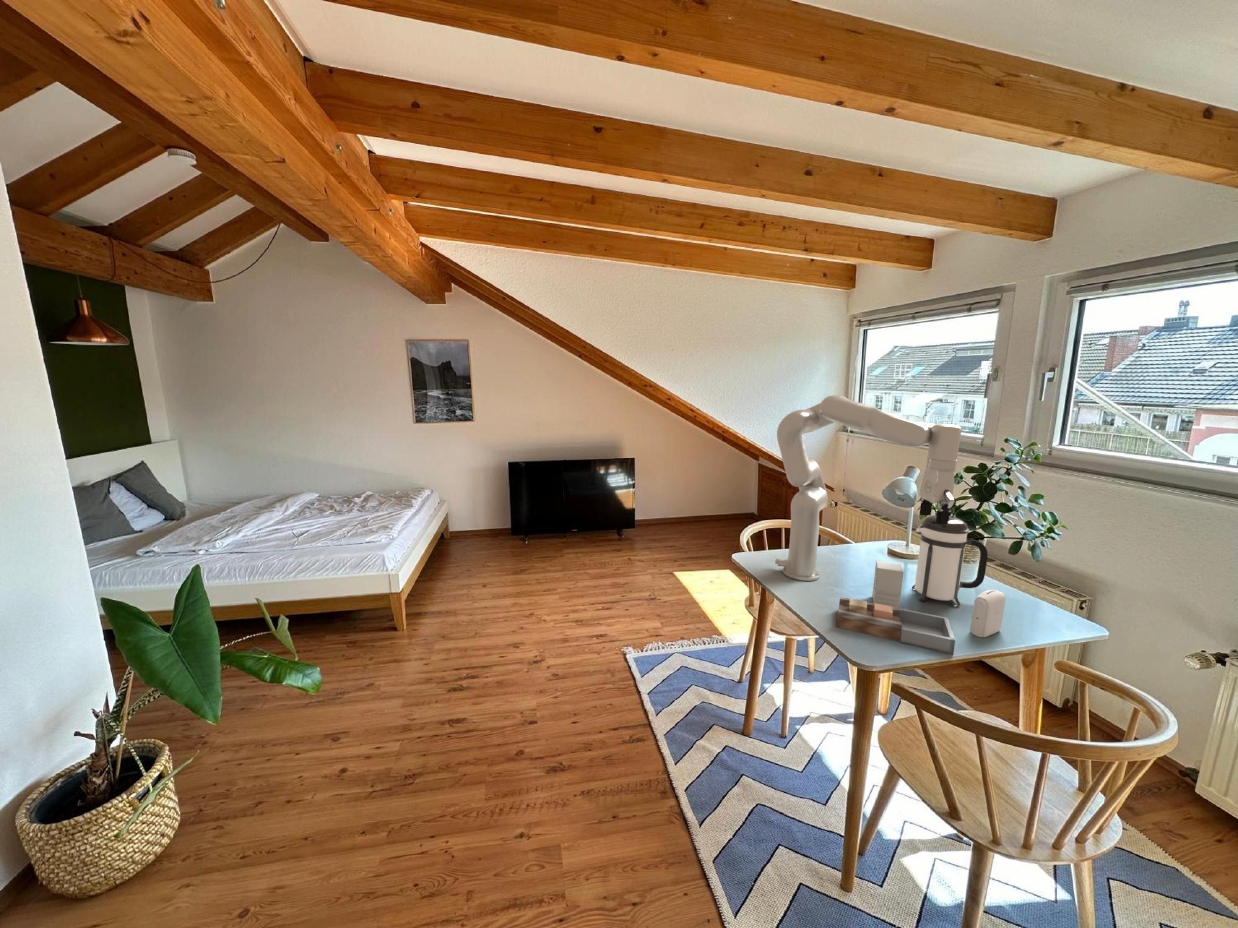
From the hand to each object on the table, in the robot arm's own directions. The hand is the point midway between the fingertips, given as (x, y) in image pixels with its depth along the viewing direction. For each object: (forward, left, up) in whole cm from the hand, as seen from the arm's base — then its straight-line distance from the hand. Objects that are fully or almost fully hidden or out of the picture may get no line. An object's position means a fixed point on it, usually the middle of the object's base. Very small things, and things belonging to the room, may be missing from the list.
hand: (933, 519), depth 151 cm
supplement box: (-10, -4, -29) cm, 31 cm away
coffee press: (+6, +9, -29) cm, 30 cm away
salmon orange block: (-12, -23, -25) cm, 36 cm away
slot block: (-15, -23, -28) cm, 40 cm away
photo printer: (+15, -11, -29) cm, 34 cm away
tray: (-1, -23, -28) cm, 37 cm away
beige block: (-18, -23, -25) cm, 39 cm away
